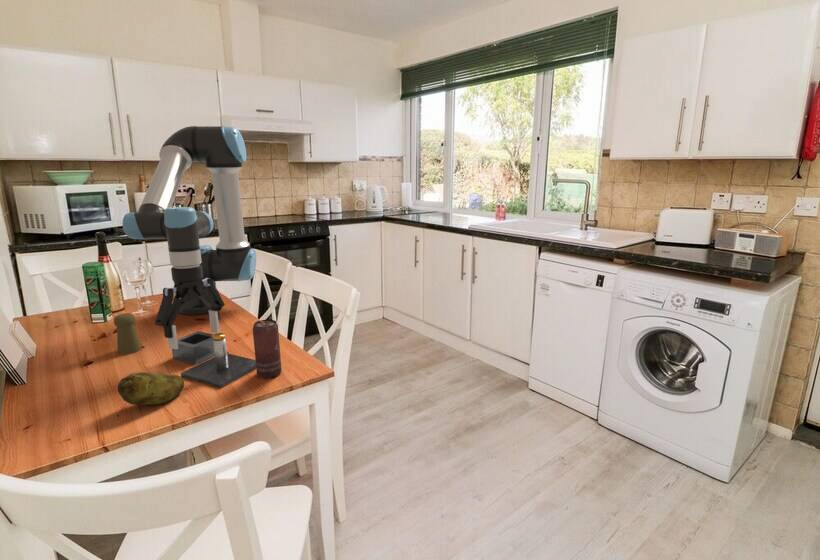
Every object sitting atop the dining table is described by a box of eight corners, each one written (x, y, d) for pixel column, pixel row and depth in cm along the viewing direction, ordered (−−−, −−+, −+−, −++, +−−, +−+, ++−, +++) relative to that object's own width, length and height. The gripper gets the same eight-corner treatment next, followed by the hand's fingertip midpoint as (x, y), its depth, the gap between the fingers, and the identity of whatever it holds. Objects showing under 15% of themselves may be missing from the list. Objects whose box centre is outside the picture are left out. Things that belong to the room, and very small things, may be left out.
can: (268, 366, 119) (264, 317, 115) (286, 371, 116) (282, 320, 112) (251, 375, 113) (246, 324, 110) (269, 381, 111) (265, 328, 107)
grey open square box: (200, 346, 131) (198, 331, 130) (222, 352, 127) (220, 336, 126) (173, 358, 123) (170, 341, 122) (195, 364, 119) (193, 347, 118)
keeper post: (224, 355, 125) (220, 322, 122) (262, 365, 119) (259, 330, 117) (181, 376, 113) (175, 340, 110) (221, 388, 107) (216, 349, 104)
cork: (130, 355, 125) (124, 318, 122) (112, 353, 126) (105, 317, 124) (146, 346, 131) (141, 311, 128) (129, 345, 132) (123, 310, 129)
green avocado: (188, 402, 101) (184, 370, 99) (121, 419, 94) (115, 385, 92) (184, 387, 107) (179, 357, 105) (121, 402, 101) (115, 370, 99)
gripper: (214, 256, 131) (221, 324, 136) (132, 273, 109) (144, 353, 114) (232, 258, 128) (239, 327, 133) (152, 276, 106) (163, 358, 111)
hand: (195, 339), depth 124 cm, fingers open, 13 cm apart
